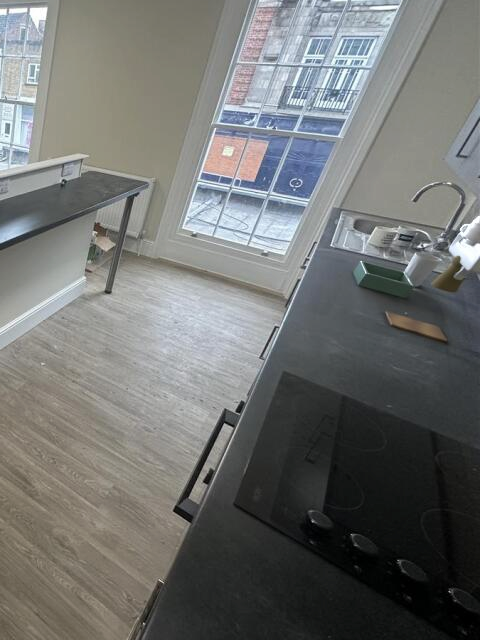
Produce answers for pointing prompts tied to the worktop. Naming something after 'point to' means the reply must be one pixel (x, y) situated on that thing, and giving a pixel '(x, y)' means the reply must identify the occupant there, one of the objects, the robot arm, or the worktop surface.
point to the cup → (421, 267)
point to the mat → (415, 326)
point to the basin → (383, 279)
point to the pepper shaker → (449, 277)
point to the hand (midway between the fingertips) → (453, 275)
